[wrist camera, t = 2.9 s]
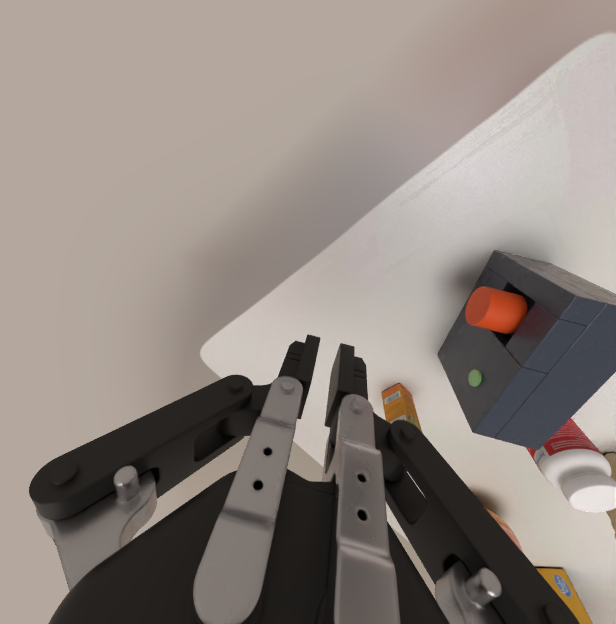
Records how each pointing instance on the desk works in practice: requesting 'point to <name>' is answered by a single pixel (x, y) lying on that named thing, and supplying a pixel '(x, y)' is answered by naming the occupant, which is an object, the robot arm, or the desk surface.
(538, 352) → the control box
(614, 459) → the flower pot
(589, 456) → the pill bottle
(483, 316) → the knob
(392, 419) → the supplement box
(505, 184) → the desk surface
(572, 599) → the game box
